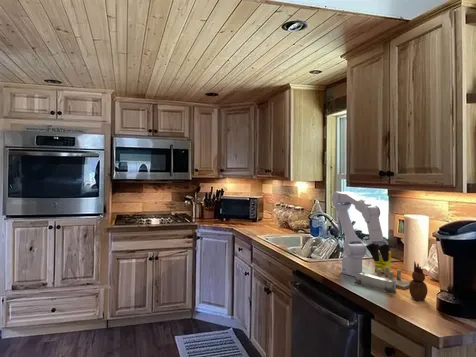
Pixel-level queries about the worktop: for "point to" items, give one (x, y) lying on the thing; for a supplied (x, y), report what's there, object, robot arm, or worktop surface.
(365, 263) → the worktop surface
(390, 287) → the grey long bar
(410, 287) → the wooden figurine
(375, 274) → the rack
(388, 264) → the supplement box
